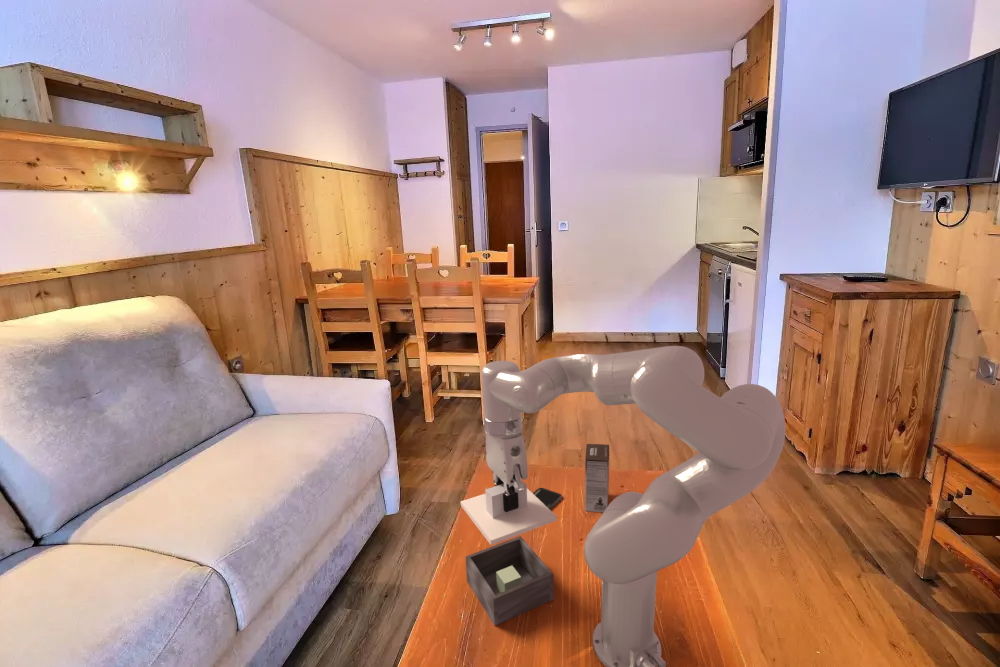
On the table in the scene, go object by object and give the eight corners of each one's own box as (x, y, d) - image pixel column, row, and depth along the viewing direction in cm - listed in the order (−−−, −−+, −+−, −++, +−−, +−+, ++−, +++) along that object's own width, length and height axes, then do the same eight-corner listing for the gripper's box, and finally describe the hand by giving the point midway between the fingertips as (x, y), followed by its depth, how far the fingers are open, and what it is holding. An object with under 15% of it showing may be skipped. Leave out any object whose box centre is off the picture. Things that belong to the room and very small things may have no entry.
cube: (521, 592, 107) (521, 576, 106) (505, 599, 105) (504, 583, 104) (512, 580, 110) (512, 565, 109) (496, 587, 109) (496, 571, 107)
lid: (556, 520, 99) (556, 494, 98) (490, 545, 93) (489, 517, 91) (520, 486, 112) (519, 462, 111) (460, 505, 106) (459, 480, 104)
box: (553, 601, 105) (553, 573, 103) (494, 628, 99) (493, 599, 97) (521, 561, 117) (520, 535, 115) (467, 582, 111) (465, 556, 109)
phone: (511, 512, 134) (540, 486, 146) (511, 515, 135) (540, 490, 146) (535, 522, 130) (563, 495, 141) (535, 526, 130) (563, 498, 142)
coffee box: (585, 492, 143) (586, 442, 139) (608, 494, 142) (609, 444, 138) (584, 511, 135) (585, 458, 131) (608, 513, 133) (609, 460, 129)
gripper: (540, 434, 92) (543, 520, 97) (501, 405, 106) (504, 481, 111) (505, 444, 89) (509, 532, 93) (469, 413, 103) (474, 491, 108)
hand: (506, 504), depth 102 cm, fingers closed on lid, 3 cm apart
